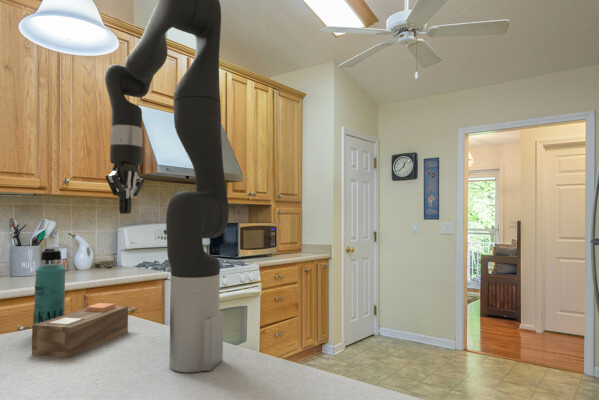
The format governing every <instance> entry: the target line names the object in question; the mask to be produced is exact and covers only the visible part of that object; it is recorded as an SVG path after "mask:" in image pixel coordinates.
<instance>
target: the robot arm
mask: <svg viewBox="0 0 599 400" xmlns="http://www.w3.org/2000/svg"><path fill="white" fill-rule="evenodd" d="M221 8H222V7H221V2H220V0H157V3H156V5H155V7H154V9H153V11H152V12H151V16H150V18H149V20H148V22H147V25H146V27H145V29H144V31H143V33H142V35H141V37H140V39H139V41H138V42H137V43H136V45H135V46H134V47H133V48H132V50H131V51H130V52H129V54H128V55H127V57H126V59H125V62H124V65H121V64H118V63H116V64H115V63H113V64H111V65H109V66H108V67H107V68H106V71H105V75H104V83H105V87H106V91H107V93H108V97H109V101H110V102H109V103H110V106H111V131H110V136H109V137H110V138H109V139H110V144H109V145H110V148H109V162H110V163H111V164H112V165H113V167H112V172H111V173H110V174H109V173H108V174H105V180H106V181H107V184H108V186H109V188H110V190H111V192H112V195H113V196H114V197H115V196H116V197H117V198H118V199H119V201H118V202H119V203H118V205H119V206H118V207H119V209H118V210H119V214H120V215H121V214H123V215H124V214H126V215H128V214H129V215H130V214H131V211H132V200H133V199H134V198H135V197H136V198H137V196H138V194H139V193H140V191H141V189H142V187H143V185H144V183H145V179H144V178H141V177H140V176H139V174H140V171H139V166H141V165H142V164H143V139H144V138H143V132H142V128H143V121H142V120H143V111H142V108H141V107H140V106H139V105H137V104H135V103H132V102H130V101H129V100H128V99H127V98H126V96H127V97H133V98H143V97H145V96H146V95H148V94H149V91H150V87H151V84H152V82H153V78H154V76H155V75H156V74H157V73H158V71H160V70H161V68H162V67H163V66H164V64H165V62H166V61H167V58H168V45H167V40H166V39H167V38H166V34H167V32H168V31H169V30H170V29H172V28H174V29H176V30H179V31H181V32H183V33H184V32H185V33H187V34H190V35H193V36H194V38H195V54H194V58H193V61H192V62H191V64H190V65H189V67H188V68H187V70H186V72H185V73H184V74H183V76H182V77H181V78H180V80H179V82H178V84H177V85H176V87H175V90H174V93H173V123H174V129H175V132H176V134H177V136H178V139H179V141H180V143H181V145H182V147H183V148H184V151H185V153H186V154H187V156H188V158H189V160H190V162H191V165H192V168H193V171H194V175H195V186H196V187H195V188H196V190H195V191H190V190H189V191H188V190H185V191H184V190H183V191H179V192H176V193H175V194H174V195H173V196H172V197H171V198H170V200H169V202H168V205H167V209H166V216H165V217H166V218H165V222H166V223H165V225H166V226H165V228H166V252H167V259H168V262H169V266H170V299H169V300H170V303H169V304H170V306H169V307H170V309H169V313H170V314H169V368H170V369H171V370H172V371H175V372H180V373H197V372H210V371H212V370H214V368H216V367H217V366H218V365H219V364H220V363H221V362H222V361H223V358H224V356H223V355H224V354H223V353H224V347H223V346H224V345H223V344H224V312H223V311H222V310H221V311H220V286H221V284H220V281H221V280H220V279H221V278H220V277H221V276H220V275H221V263H220V260H219V258H217V257H214V256H212V255H210V254H208V252H206V251H205V249H204V244H203V243H204V242H203V239H213V238H217V237H219V236H221V235H223V233H224V232H225V230H226V229H227V227H228V223H229V219H230V217H229V214H230V213H229V210H230V209H229V207H230V206H229V200H228V193H227V192H228V191H227V184H226V177H225V170H224V161H223V160H224V158H223V145H222V143H223V142H222V139H223V138H222V110H221V109H222V108H221V107H222V103H221V91H220V89H221V88H220V87H221V86H220V47H221V46H220V44H221V29H222V28H221V27H222V10H221Z"/></svg>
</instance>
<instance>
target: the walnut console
mask: <svg viewBox="0 0 599 400" xmlns="http://www.w3.org/2000/svg"><path fill="white" fill-rule="evenodd" d="M62 318H79V319H83V320H81V321H78V322H75V323H72V324H70V325H57V324H49V323H50V322H53V321H56V320H59V319H62ZM31 328H32V331H31V332H32V333H31V355H32V356H33V355H34V356H41V357H42V356H45V357H56V358H68V359H71V358H73V357H74V356H77V355H79V354H81V353H83V352H86V351H88V350H91V349H92V348H94V347H97V346H99V345H101V344H104V343H105V342H108V341H110V340H112V339H114V338H116V337H118V336H120V335H124V334H125V333H127V332H128V331H129V307H128V306H118V305H115V309H113V310H110V311H107V312H104V313H100V312H87V307H86V308H83V309H78V310H76V311H73V312H70V313H67V314H66V313H65V314H64V315H63V316H60V317H56V318H53V319H50V320H47V321H44V322H41V323H37V324H34V323H33V324H32V327H31Z"/></svg>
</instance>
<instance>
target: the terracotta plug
mask: <svg viewBox="0 0 599 400" xmlns="http://www.w3.org/2000/svg"><path fill="white" fill-rule="evenodd" d="M115 306H116V303H105V302H98V303H94V304H91V305H88V306H86V308H87V312H100V313H104V312H107V311H110V310H113V309H115Z"/></svg>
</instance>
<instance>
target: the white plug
mask: <svg viewBox="0 0 599 400" xmlns="http://www.w3.org/2000/svg"><path fill="white" fill-rule="evenodd" d="M81 320H83V319H79V318H62V319H59V320H56V321H53V322H50V323H49V324H57V325H70V324H72V323H75V322H78V321H81Z"/></svg>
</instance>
